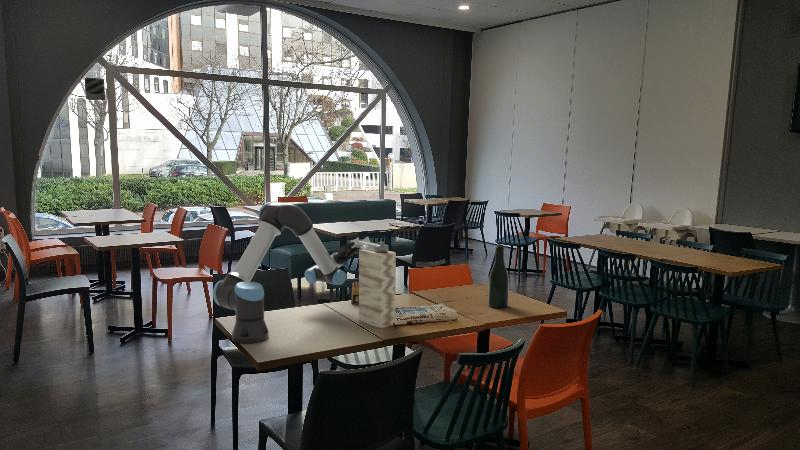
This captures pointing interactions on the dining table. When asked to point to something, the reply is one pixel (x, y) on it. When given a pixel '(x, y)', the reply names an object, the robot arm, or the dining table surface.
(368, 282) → the stand
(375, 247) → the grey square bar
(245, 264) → the robot arm
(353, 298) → the ammunition clip
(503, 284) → the beer bottle
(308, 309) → the dining table surface
